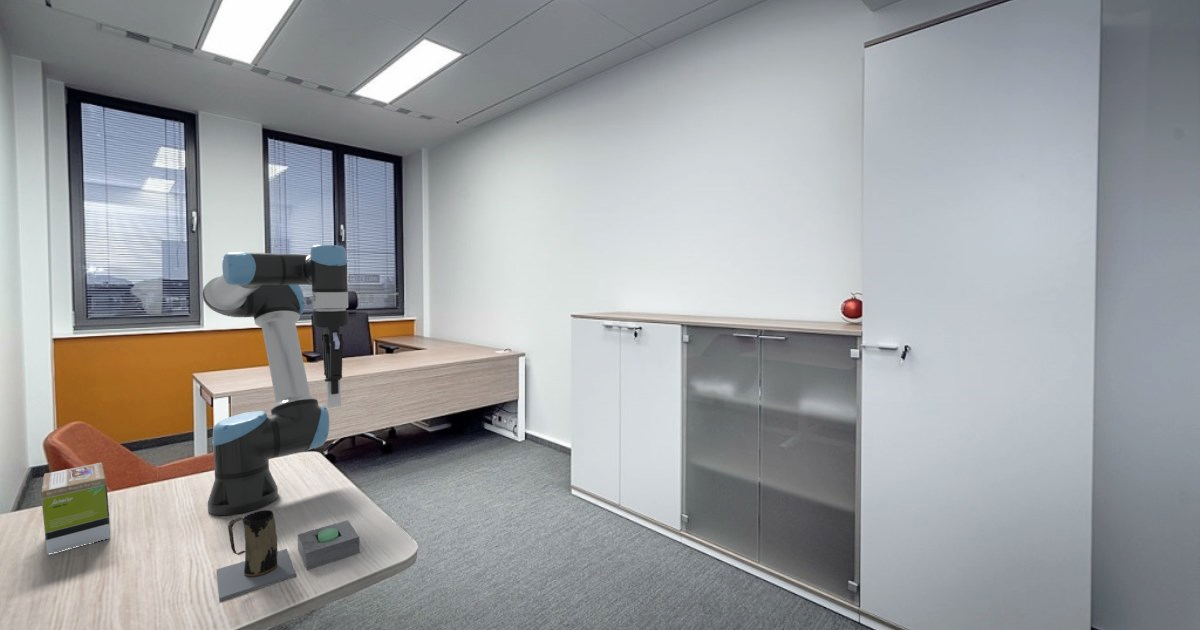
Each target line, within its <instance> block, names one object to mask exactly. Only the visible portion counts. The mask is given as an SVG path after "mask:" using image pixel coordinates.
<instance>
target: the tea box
mask: <svg viewBox="0 0 1200 630" xmlns="http://www.w3.org/2000/svg"><path fill="white" fill-rule="evenodd" d="M104 470H105V469H104V466H103V463H102V462H97V463H93V464H86V465H82V466H78V467H72V468H67V469H63V470H58V471H53V472H46V473H44V474H43V478H42V486H41V495H40V496H41V505H42V508H41V509H42V515H43V526H44V527H43V528H44V537H45V538H44V539H45V540H44V541H45V546H46V548H45V549H46V555H47V554H49V553H54V552H59V551H62V550H65V549H68V548H73V547H76V546H81V545H84V544H89V543H93V542H97V543H99V542H98V541H100V542H102V541H101V540H103V541H106V540H105V539H107V540H109V539H111V524H110V523H111V522H110V509H109V507H110V506H109V495H108V487H107V482H106V481H107V480H106V474H105V471H104ZM93 544H94V543H93ZM89 545H90V544H89Z"/></svg>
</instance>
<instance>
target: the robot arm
mask: <svg viewBox="0 0 1200 630" xmlns="http://www.w3.org/2000/svg"><path fill="white" fill-rule="evenodd" d="M221 265H222V275H220V276H217V277H214V278H211V280H209V281H208V282H207V283H206V284H205V285H204V287H203V289H202V299H203V302H204V304H205V305H206V306H207V307H208V308H209V309H210V310H212V311H214V312H215V313H218V314H221V315H222V316H226V317H232V318H253V320H254V324H255V326H257V327H260V328H261V330H262V334H263V340H264V345H265V350H266V355H267V360H268V366H269V367H268V368H269V372H270V376H271V377H270V378H271V382H272V388H273V394H274V398H275V403H274V405H273V407H272V408H271V409H270V413H271V414H269V415H268V414H267V413H266V411H264V410H256V411H255V410H254V411H248V412H242V413H238V414H235V415H232V416H229V417H227V418H224V419H222V420H219V421H218V422H217V423H216V424H215V425H214V426H213V428H212V441H211V444H212V447H213V464H214V467H213V468H214V482H213V485H212V488H211V491H210V494H209V496H208V500H207V511H208V514H211V515H214V516H231V515H238V514H243V513H244V514H245V513H248V512H251V511H255V510H257V509H261V508H264V507H266V506H268V505H270V504H271V503H273V502H274V501H276V500H277V498H278V497H279V490H278V489H279V488H278V485H277V484H276V483H277V482H276V481H275V479H274V476H273V475H272V472H271V471H270V463H269V460H270V459H273V458H278V457H284V456H288V455H291V454H296V453H300V452H301V453H302V452H304V451H306V452H308V451H309V450H313V449H316V448H319V447H322V446H323V445H324V444H325V443H326V441H327V439H328V437H329V431H330V414H329V411H328V409H327V408H335V407H336V408H337V407H338V408H339V407H341V406H342V401H341V400H342V399H341V395H342V394H341V379H342V378H343V349H344V343H345V342H344V341H343V333H341V332H340V327H346V326H348V325H349V324H350V323H349V321H350V320H349V311H348V310H346V309H348V308H349V292H348V257H347V250H346V248H345V246H343V245H335V244H334V245H333V244H315V245H314V244H313V245H312V246H311V247H310V254H300V253H299V254H298V253H297V254H296V253H294V254H293V253H292V254H291V253H268V252H266V253H265V252H249V251H237V252H235V251H234V252H231V251H230V252H227V253H225V254H224V256H223V260H222V264H221ZM301 286H311V292H312V295H311V296H309V301H312V308H313V309H314V311H313V312H312V322H313V323H312V324H313V326H314V327H316V328H323V333H320V340H321V345H322V359H323V360H322V361H323V372H324V373H323V374H324V376H325V378H324V382H326V405H327V406H323V405H319V401H318V399H317V398H315V397H313V396H312V395H311V393H310V388H309V383H308V377H307V373H306V368H305V364H304V359H303V352H302V348H301V344H300V339H299V334H298V329H297V325H296V323H297V322H298V321H299V320H300V319H301V315H302V314H303V313H304V311H305V306H306V305H305V297H304V294H303V289H302V288H301Z"/></svg>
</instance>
